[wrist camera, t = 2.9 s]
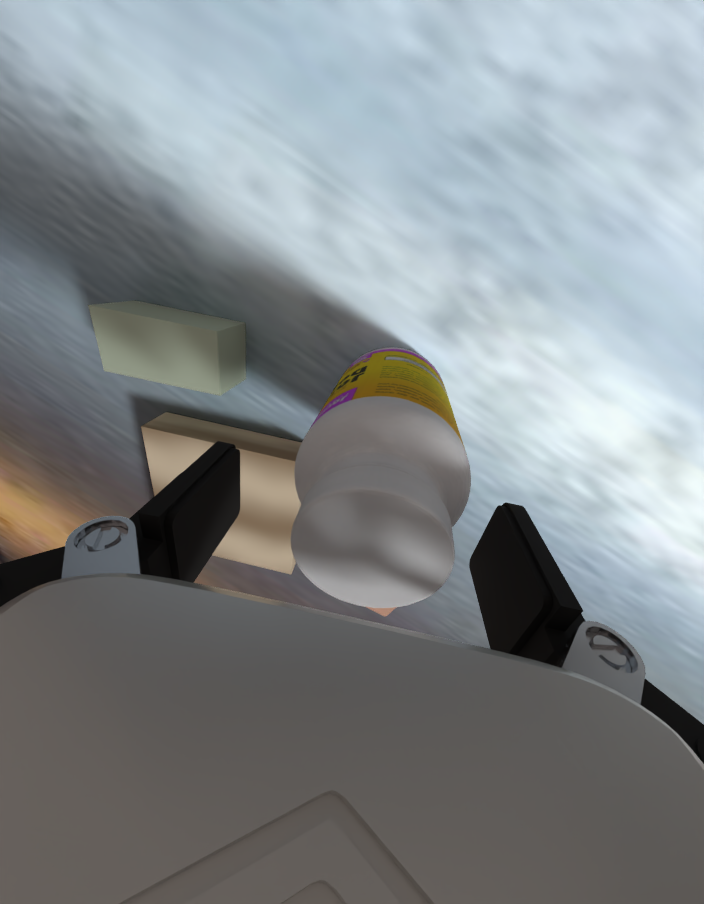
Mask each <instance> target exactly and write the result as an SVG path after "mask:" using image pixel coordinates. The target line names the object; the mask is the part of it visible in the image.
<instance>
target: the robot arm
mask: <svg viewBox="0 0 704 904" xmlns="http://www.w3.org/2000/svg"><path fill="white" fill-rule="evenodd" d="M239 512H240V450H239V449H236V446H235V445H234V444H230V443H226V442H221V441H217V442H216V443H215V444H214V445H212V446H211V447H210V448H209V449H208V450H207V451H206V452H205V453H203V454H202V455H201V456H200V457H199V458H198V459H197V460H196V461H195V462H193V463H192V464H191V465H190V466H189V467H188V468H187V469H186V470H185V471H183V472H182V473H180V474H179V475H178V476H177V477H176V478H175V479H173V480H172V481H171V482H170V483H169V484H168V485H167V486H166V487H165V488H163V489H162V490H161V491H160V492H159V493H158V494H157V495H156V496H154V497H153V498H152V499H151V500H150V501H149V502H148V503H147V504H145V505H144V506H143V507H142V508H141V509H140V510H139V511H138V512H136V513H135V514H134V515H133V516H132V517H131V518H130V519H128V518H125V517H121V516H108V517H101V518H98V519H94V520H91V521H89V522H87V523H85V524H83V525H81V526H80V527H78V528H77V529H75V530H74V531H73V532H72V533H71V534H70V535H69V536H68V539H67V541H66V544H65V546H64V547H61V548H57V549H53V550H50V551H46V552H43V553H39V554H35V555H32V556H28V557H24V558H21V559H17V560H14V561H10V562H6V563H3V564H0V904H704V725H703V724H702V723H701V722H699V721H698V720H697V719H696V718H694V717H693V716H692V715H691V714H689V713H688V712H687V711H685V710H684V709H683V708H682V707H680V706H679V705H678V704H677V703H675V702H674V701H673V700H671V699H670V698H669V697H668V696H666V695H665V694H664V693H663V692H661V691H660V690H659V689H657V688H656V687H655V686H654V685H652V684H651V683H650V682H649V681H647V680H646V679H645V674H646V673H645V665H644V663H643V661H642V659H641V657H640V655H639V654H638V652H637V651H636V650H635V648H634V647H633V646H632V645H631V644H630V643H629V642H628V641H627V640H626V639H625V638H624V637H623V636H621V635H620V634H619V633H617V632H616V631H615V630H613V629H611V628H610V627H608V626H606V625H604V624H601V623H599V622H594V621H585V620H584V618H583V616H582V614H581V613H582V612H583V610H582V608H581V606H580V604H579V602H578V601H577V599H576V597H575V595H574V594H573V592H572V590H571V588H570V587H569V585H568V583H567V581H566V580H565V578H564V576H563V574H562V573H561V571H560V569H559V567H558V566H557V564H556V562H555V560H554V559H553V557H552V555H551V553H550V552H549V550H548V548H547V546H546V545H545V543H544V541H543V539H542V538H541V536H540V534H539V532H538V531H537V529H536V527H535V525H534V524H533V522H532V520H531V518H530V517H529V515H528V513H527V511H526V510H525V508H524V507H523V506H519V505H515V504H510V503H504V504H503V505H502V506H498V507H497V508H496V510H495V512H494V514H493V515H492V517H491V519H490V521H489V523H488V525H487V527H486V529H485V531H484V533H483V535H482V537H481V539H480V541H479V543H478V545H477V547H476V548H475V550H474V552H473V554H472V556H471V559H470V571H471V575H472V579H473V583H474V586H475V590H476V594H477V598H478V602H479V606H480V610H481V614H482V617H483V621H484V625H485V629H486V633H487V637H488V641H489V644H490V648H491V649H488V648H484V647H480V646H475V645H471V644H467V643H462V642H458V641H454V640H449V639H445V638H441V637H436V636H432V635H428V634H424V633H419V632H415V631H411V630H406V629H402V628H397V627H393V626H389V625H384V624H380V623H375V622H371V621H367V620H362V619H358V618H353V617H349V616H344V615H340V614H335V613H331V612H327V611H322V610H318V609H313V608H309V607H304V606H300V605H295V604H291V603H286V602H281V601H277V600H272V599H268V598H263V597H259V596H254V595H250V594H245V593H240V592H236V591H231V590H227V589H222V588H217V587H212V586H207V585H202V584H197V583H193V582H194V581H195V579H196V578H197V576H198V575H199V573H200V572H201V570H202V569H203V567H204V566H205V564H206V563H207V561H208V560H209V558H210V557H211V555H212V554H213V553H214V551H215V550H216V548H217V547H218V545H219V544H220V542H221V541H222V539H223V538H224V536H225V535H226V533H227V532H228V530H229V529H230V527H231V526H232V524H233V523H234V521H235V520H236V518H237V517H238V515H239Z"/></svg>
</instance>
